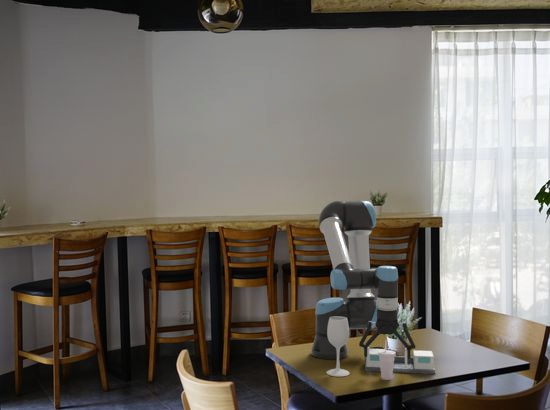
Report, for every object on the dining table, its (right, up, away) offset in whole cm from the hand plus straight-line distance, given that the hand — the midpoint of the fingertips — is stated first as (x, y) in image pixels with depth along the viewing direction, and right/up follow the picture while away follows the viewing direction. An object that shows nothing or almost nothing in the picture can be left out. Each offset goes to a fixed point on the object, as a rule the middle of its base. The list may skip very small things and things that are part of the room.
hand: (387, 366), depth 232 cm
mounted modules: (+7, -3, +12) cm, 14 cm away
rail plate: (+7, -4, +12) cm, 15 cm away
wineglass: (-17, -4, +6) cm, 19 cm away
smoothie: (0, -5, 0) cm, 5 cm away
